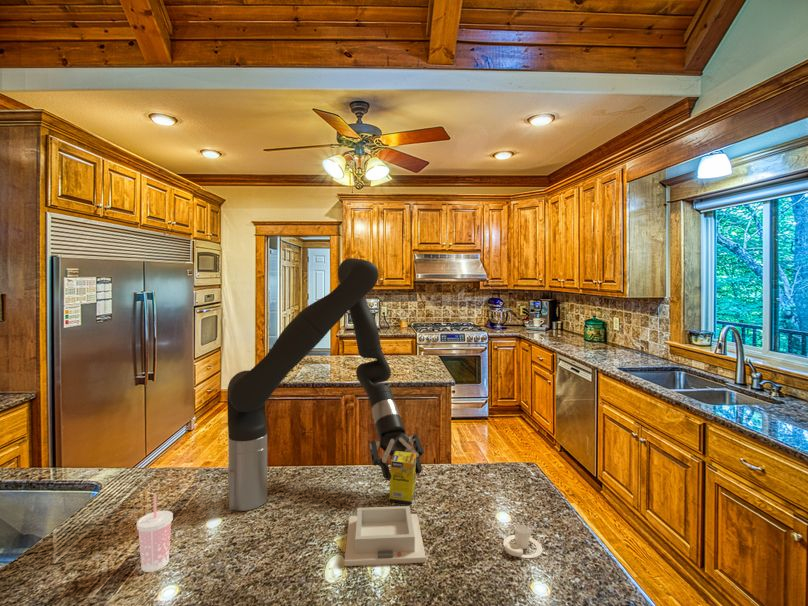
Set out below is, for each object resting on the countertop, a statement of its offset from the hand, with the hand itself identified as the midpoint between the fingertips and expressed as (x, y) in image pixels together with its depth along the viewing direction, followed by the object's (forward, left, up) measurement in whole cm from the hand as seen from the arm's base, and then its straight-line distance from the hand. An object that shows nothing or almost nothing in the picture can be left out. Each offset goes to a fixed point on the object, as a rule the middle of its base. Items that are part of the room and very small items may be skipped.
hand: (404, 476), depth 104 cm
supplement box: (0, +1, -6) cm, 6 cm away
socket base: (-11, -14, -6) cm, 19 cm away
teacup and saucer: (+13, -26, -7) cm, 29 cm away
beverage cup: (-55, -3, -6) cm, 55 cm away
